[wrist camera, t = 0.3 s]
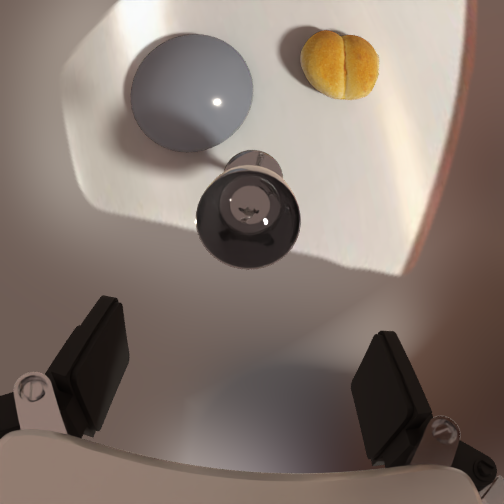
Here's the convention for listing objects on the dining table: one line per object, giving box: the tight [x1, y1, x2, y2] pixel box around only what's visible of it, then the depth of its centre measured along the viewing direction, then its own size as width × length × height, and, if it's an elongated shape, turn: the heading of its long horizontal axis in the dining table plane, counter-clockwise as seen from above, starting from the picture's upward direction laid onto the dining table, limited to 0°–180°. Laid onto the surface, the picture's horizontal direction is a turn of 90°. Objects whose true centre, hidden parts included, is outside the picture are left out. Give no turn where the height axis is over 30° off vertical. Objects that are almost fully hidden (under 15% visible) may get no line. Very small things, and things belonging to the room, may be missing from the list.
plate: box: [131, 34, 253, 152], centre depth 31 cm, size 14×14×2 cm
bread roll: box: [300, 30, 379, 100], centre depth 28 cm, size 8×9×4 cm
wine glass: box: [196, 150, 301, 270], centre depth 30 cm, size 8×8×15 cm
